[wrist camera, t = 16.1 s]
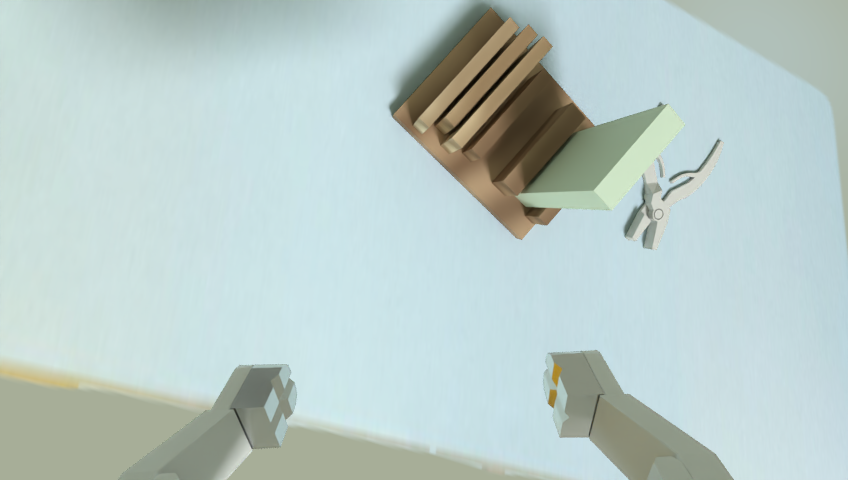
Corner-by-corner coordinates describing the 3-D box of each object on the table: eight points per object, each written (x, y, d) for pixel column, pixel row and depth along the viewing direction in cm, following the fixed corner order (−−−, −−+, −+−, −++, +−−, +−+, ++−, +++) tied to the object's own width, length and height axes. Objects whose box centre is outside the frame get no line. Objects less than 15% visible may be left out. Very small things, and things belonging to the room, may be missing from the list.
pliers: (733, 142, 42) (677, 262, 42) (719, 144, 43) (665, 260, 43) (667, 101, 39) (609, 227, 40) (656, 105, 41) (600, 226, 41)
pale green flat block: (512, 193, 37) (593, 190, 25) (562, 136, 38) (668, 103, 25) (525, 206, 38) (611, 210, 25) (575, 149, 38) (685, 124, 25)
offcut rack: (392, 117, 36) (399, 101, 30) (486, 13, 36) (510, -21, 31) (516, 238, 39) (543, 244, 34) (600, 142, 40) (640, 133, 34)
